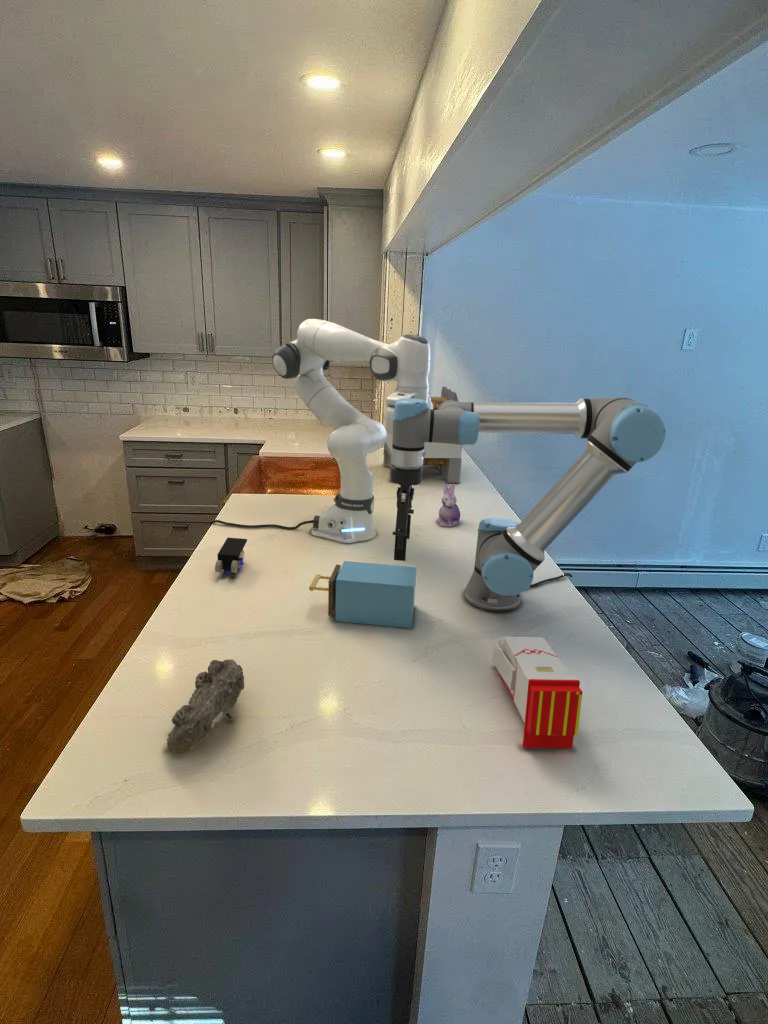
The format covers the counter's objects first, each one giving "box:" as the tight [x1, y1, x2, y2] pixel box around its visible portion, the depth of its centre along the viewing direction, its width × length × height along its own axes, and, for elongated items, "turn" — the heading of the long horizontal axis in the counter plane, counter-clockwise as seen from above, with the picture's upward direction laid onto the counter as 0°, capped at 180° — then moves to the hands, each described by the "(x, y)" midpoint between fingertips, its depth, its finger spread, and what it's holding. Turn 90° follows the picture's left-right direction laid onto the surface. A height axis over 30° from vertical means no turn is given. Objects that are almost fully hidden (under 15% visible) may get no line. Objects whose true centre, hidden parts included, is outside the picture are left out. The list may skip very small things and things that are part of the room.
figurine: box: [437, 483, 461, 528], centre depth 209 cm, size 9×10×15 cm
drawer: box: [308, 564, 342, 617], centre depth 146 cm, size 23×10×10 cm, turn 84°
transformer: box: [383, 386, 463, 484], centre depth 268 cm, size 34×33×41 cm
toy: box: [491, 636, 583, 749], centre depth 115 cm, size 12×13×30 cm
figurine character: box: [214, 537, 248, 578], centre depth 166 cm, size 7×8×15 cm
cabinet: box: [335, 560, 418, 629], centre depth 145 cm, size 19×11×12 cm, turn 84°
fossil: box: [166, 658, 245, 754], centre depth 106 cm, size 22×10×15 cm
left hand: (409, 445), depth 161 cm, fingers open, 8 cm apart
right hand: (402, 548), depth 140 cm, fingers open, 13 cm apart
